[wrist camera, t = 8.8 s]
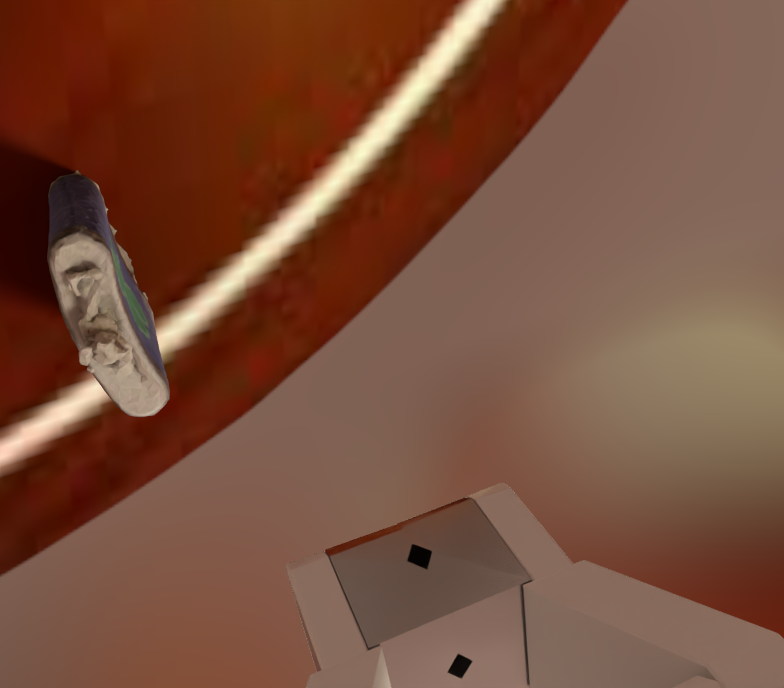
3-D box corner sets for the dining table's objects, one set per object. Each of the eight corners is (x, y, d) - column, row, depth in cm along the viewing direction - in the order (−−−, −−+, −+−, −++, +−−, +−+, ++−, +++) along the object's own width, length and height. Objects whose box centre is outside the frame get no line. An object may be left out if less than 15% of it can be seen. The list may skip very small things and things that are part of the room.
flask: (160, 325, 41) (183, 430, 32) (107, 343, 40) (115, 456, 31) (92, 163, 36) (96, 234, 27) (30, 181, 36) (14, 260, 27)
